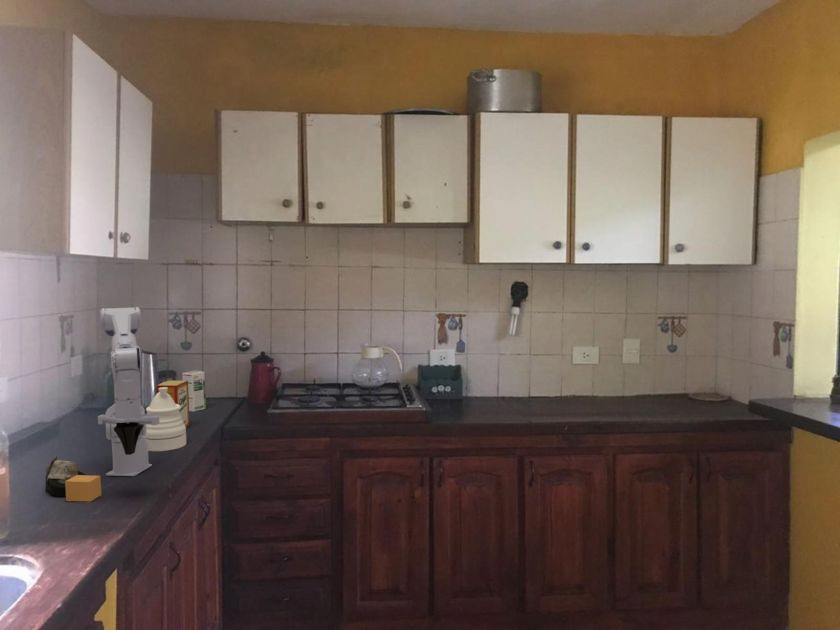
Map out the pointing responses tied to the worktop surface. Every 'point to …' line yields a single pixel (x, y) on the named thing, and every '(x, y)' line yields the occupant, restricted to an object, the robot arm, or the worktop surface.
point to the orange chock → (83, 488)
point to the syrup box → (196, 390)
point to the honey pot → (165, 424)
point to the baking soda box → (179, 396)
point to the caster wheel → (60, 475)
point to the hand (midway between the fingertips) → (130, 453)
